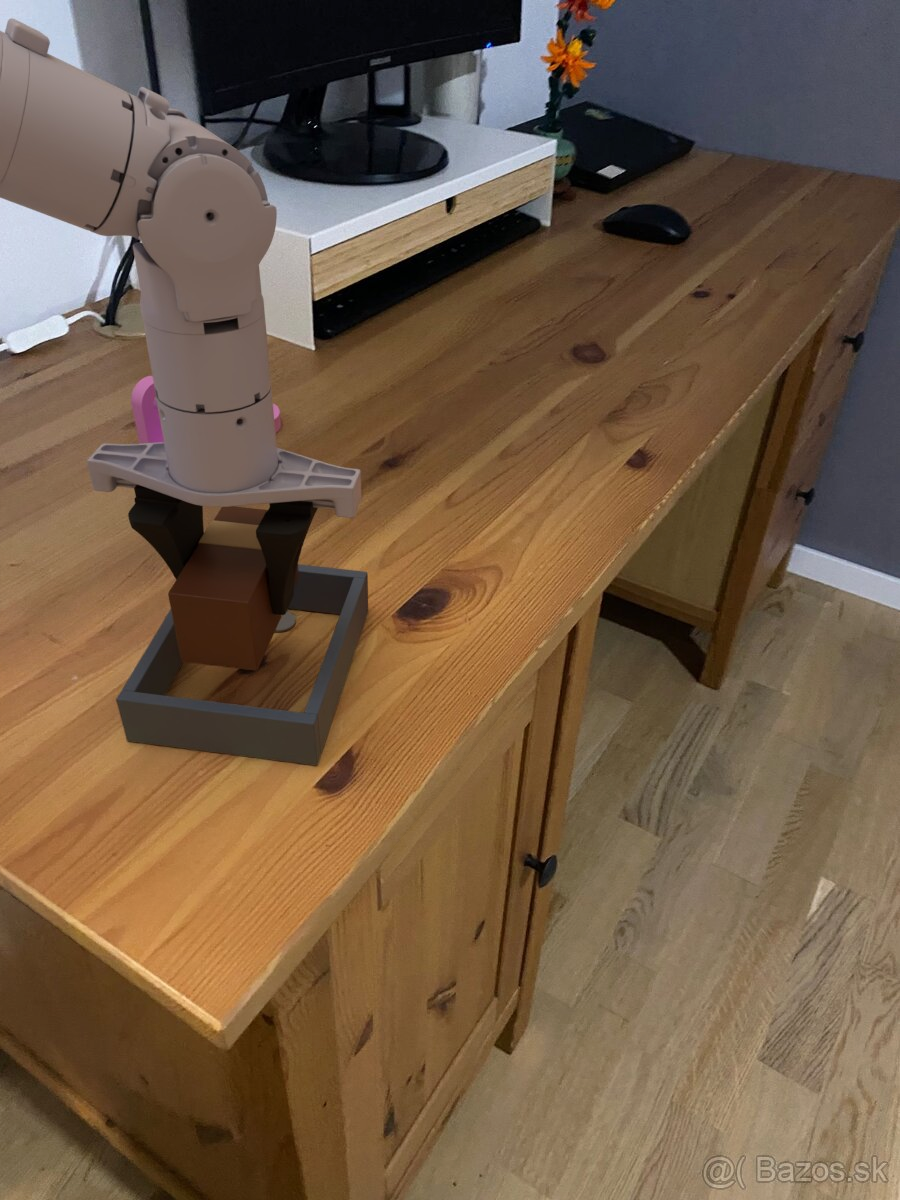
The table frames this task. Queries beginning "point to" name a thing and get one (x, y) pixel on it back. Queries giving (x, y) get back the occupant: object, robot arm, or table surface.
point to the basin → (248, 726)
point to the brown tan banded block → (225, 595)
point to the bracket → (149, 413)
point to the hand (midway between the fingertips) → (242, 599)
